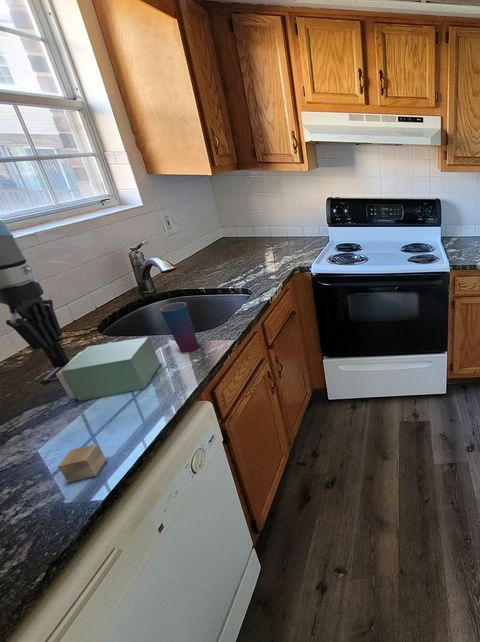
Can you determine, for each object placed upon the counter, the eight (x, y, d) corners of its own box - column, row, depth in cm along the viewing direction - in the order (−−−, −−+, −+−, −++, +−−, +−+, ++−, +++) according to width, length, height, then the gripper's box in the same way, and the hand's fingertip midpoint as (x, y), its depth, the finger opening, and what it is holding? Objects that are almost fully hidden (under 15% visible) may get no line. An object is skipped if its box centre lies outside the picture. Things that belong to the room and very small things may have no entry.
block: (68, 482, 72) (57, 466, 70) (80, 465, 76) (70, 449, 74) (95, 476, 74) (85, 460, 72) (106, 459, 78) (97, 443, 76)
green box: (78, 401, 95) (60, 371, 91) (102, 374, 106) (87, 346, 102) (144, 388, 100) (130, 359, 96) (160, 364, 110) (148, 336, 106)
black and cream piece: (44, 403, 94) (28, 378, 90) (69, 378, 103) (56, 355, 100) (131, 386, 99) (119, 363, 96) (147, 364, 109) (137, 342, 105)
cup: (173, 349, 118) (155, 308, 112) (195, 340, 123) (180, 300, 117) (182, 355, 114) (165, 313, 108) (205, 346, 119) (190, 304, 113)
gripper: (15, 290, 82) (66, 376, 92) (50, 272, 93) (92, 350, 103) (-29, 296, 80) (28, 382, 90) (12, 276, 91) (59, 355, 101)
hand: (62, 365), depth 97 cm, fingers closed
